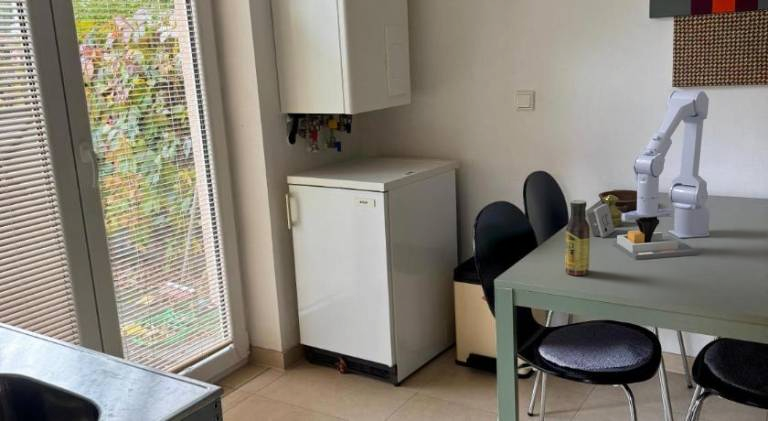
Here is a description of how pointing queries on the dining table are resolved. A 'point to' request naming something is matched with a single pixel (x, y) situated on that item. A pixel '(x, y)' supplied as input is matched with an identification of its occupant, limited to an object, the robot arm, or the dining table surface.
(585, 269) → the sauce bottle
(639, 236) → the block
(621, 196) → the dish
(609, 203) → the salt shaker
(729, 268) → the dining table surface
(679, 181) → the robot arm
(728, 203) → the dining table surface
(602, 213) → the electrical switch
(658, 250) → the grey tray
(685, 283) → the dining table surface
